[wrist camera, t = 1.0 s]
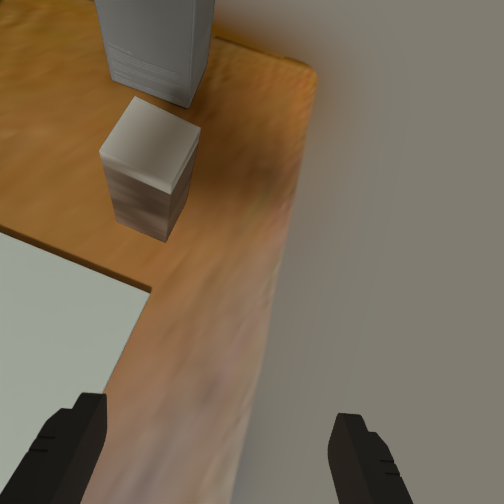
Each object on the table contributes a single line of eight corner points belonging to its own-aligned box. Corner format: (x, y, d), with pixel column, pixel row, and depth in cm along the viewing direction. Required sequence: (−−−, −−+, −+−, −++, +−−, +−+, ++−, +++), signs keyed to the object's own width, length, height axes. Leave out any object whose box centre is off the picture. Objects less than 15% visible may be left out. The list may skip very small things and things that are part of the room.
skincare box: (206, 68, 38) (240, -117, 23) (185, 118, 35) (208, -56, 21) (130, 35, 37) (114, -184, 22) (102, 84, 34) (64, -127, 19)
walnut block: (117, 222, 30) (99, 150, 20) (140, 181, 32) (134, 96, 22) (165, 242, 31) (171, 183, 21) (186, 201, 32) (201, 128, 22)
